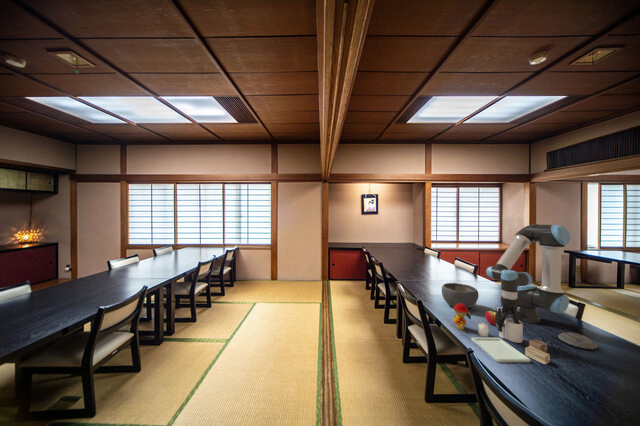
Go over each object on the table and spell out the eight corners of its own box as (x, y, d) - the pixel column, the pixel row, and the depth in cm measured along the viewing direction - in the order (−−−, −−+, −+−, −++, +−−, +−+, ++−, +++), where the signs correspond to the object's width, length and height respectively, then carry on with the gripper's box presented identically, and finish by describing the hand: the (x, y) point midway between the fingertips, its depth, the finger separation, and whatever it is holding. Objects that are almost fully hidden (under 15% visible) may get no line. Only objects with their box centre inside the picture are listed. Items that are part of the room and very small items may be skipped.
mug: (520, 337, 139) (520, 319, 138) (524, 344, 132) (524, 325, 132) (494, 332, 144) (494, 315, 144) (497, 338, 137) (497, 320, 137)
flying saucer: (592, 354, 123) (592, 343, 123) (553, 340, 136) (553, 331, 136) (602, 347, 130) (602, 336, 130) (564, 334, 143) (564, 325, 143)
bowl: (478, 304, 189) (478, 285, 189) (478, 315, 168) (478, 294, 168) (443, 298, 202) (443, 280, 202) (439, 308, 181) (440, 288, 181)
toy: (472, 332, 144) (472, 307, 144) (456, 331, 146) (456, 306, 146) (465, 324, 155) (465, 301, 155) (450, 322, 157) (450, 299, 157)
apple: (482, 320, 161) (483, 305, 161) (497, 321, 159) (497, 306, 159) (488, 326, 153) (489, 310, 153) (503, 327, 151) (504, 311, 151)
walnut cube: (536, 348, 128) (536, 339, 128) (547, 353, 123) (547, 344, 123) (529, 349, 127) (529, 340, 127) (540, 355, 122) (540, 345, 122)
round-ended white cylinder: (484, 332, 144) (484, 322, 144) (490, 337, 139) (490, 326, 139) (476, 332, 144) (476, 322, 144) (481, 337, 139) (481, 326, 139)
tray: (499, 340, 136) (499, 337, 136) (530, 362, 116) (530, 359, 116) (471, 340, 136) (471, 337, 136) (497, 362, 116) (497, 359, 116)
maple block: (529, 353, 123) (529, 346, 123) (549, 362, 116) (549, 354, 116) (525, 355, 122) (525, 347, 122) (545, 364, 114) (545, 356, 114)
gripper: (521, 295, 142) (521, 333, 142) (486, 295, 142) (486, 333, 142) (532, 300, 134) (532, 340, 134) (496, 299, 134) (495, 340, 134)
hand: (508, 337), depth 138 cm, fingers closed on mug, 8 cm apart
